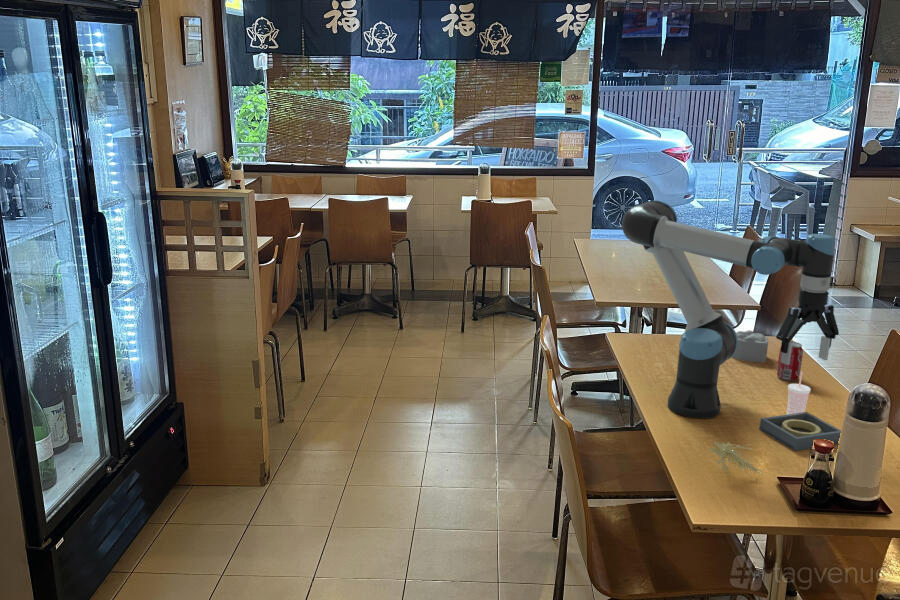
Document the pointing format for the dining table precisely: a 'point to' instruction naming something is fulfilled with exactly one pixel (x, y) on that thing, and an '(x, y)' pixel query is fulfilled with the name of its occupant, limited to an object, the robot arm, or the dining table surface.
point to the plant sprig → (732, 456)
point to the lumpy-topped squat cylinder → (751, 346)
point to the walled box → (798, 430)
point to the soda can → (791, 364)
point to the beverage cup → (797, 397)
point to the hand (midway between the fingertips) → (804, 361)
